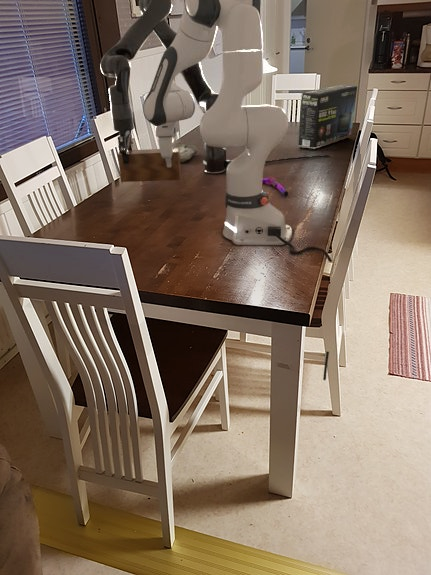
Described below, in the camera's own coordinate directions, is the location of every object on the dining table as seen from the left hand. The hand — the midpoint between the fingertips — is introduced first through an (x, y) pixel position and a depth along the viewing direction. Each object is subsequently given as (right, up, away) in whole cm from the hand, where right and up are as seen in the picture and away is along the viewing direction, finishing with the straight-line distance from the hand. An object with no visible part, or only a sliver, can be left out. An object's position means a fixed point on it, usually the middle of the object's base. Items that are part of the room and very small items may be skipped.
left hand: (128, 160), depth 175 cm
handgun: (+56, -8, +11) cm, 58 cm away
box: (+9, -6, +3) cm, 11 cm away
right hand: (+16, -1, 0) cm, 16 cm away
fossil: (+15, +16, +54) cm, 59 cm away
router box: (+92, +29, +69) cm, 119 cm away
